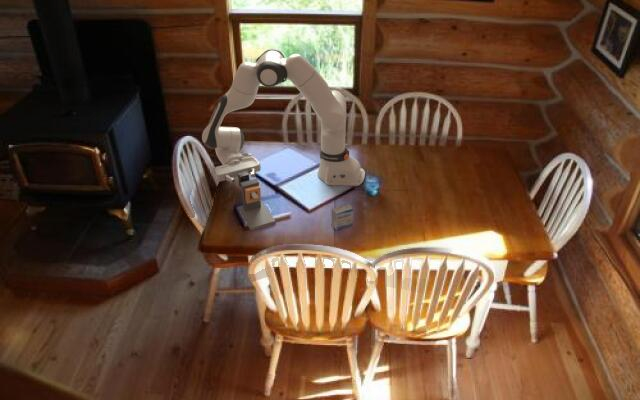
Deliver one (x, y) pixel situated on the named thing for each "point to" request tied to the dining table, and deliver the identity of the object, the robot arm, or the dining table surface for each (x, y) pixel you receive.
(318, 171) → the robot arm
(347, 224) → the medicine box
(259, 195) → the spacer
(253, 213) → the bearing stand
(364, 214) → the dining table surface
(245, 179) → the shaft
